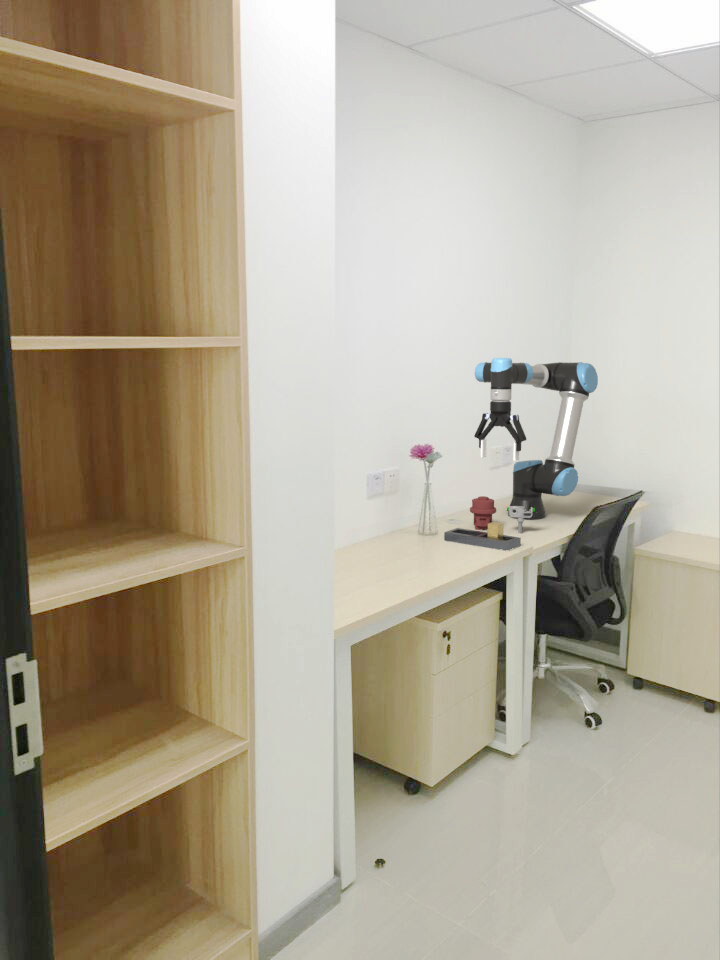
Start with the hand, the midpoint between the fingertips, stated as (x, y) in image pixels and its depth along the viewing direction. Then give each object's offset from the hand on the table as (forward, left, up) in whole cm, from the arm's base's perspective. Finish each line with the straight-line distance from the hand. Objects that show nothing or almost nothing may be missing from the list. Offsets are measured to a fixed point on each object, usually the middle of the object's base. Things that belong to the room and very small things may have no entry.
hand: (499, 458), depth 308 cm
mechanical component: (-8, +5, -29) cm, 30 cm away
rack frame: (+15, +2, -29) cm, 32 cm away
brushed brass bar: (+15, +8, -29) cm, 33 cm away
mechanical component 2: (-6, -10, -29) cm, 31 cm away
